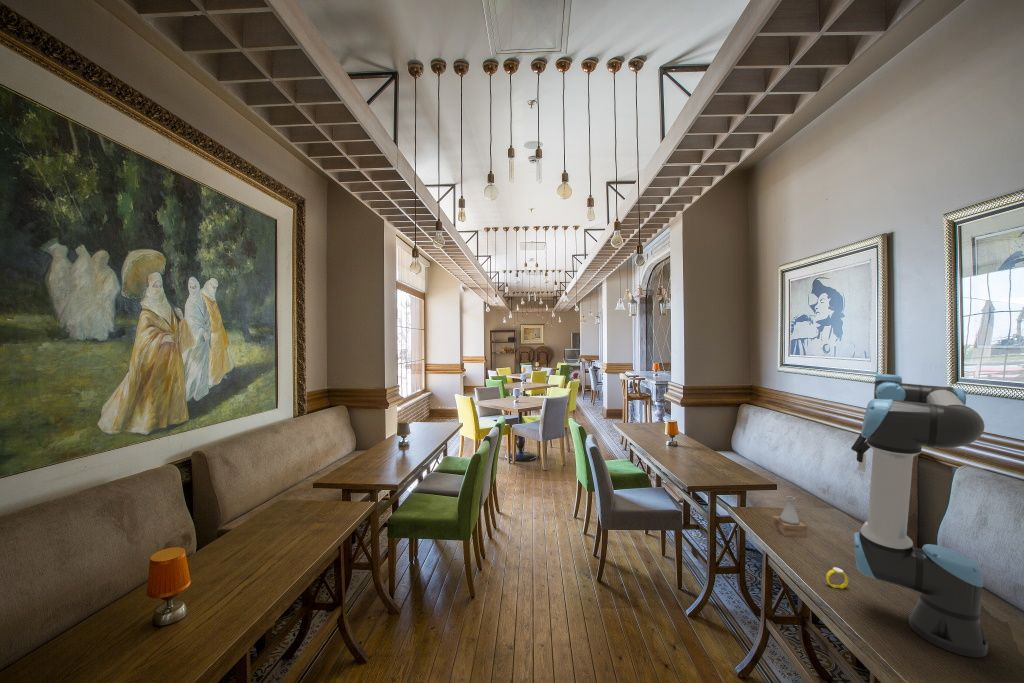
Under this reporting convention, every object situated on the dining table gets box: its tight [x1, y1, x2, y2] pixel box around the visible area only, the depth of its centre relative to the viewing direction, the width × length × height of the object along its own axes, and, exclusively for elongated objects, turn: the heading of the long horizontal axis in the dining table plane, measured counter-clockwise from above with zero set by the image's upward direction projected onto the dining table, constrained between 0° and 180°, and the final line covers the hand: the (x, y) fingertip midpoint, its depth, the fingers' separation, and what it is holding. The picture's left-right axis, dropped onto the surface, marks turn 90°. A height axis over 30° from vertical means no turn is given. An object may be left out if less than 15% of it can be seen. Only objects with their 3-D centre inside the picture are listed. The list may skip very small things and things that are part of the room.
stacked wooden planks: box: [770, 515, 808, 538], centre depth 177 cm, size 9×9×5 cm
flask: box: [779, 495, 801, 525], centre depth 176 cm, size 7×7×10 cm
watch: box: [825, 566, 849, 590], centre depth 139 cm, size 6×3×6 cm, turn 80°
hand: (882, 472), depth 159 cm, fingers open, 13 cm apart
